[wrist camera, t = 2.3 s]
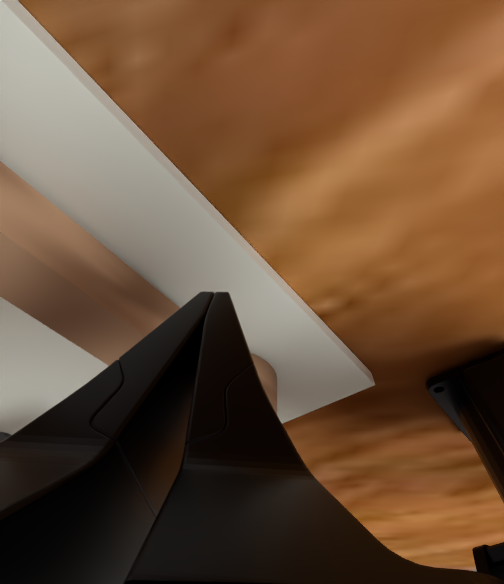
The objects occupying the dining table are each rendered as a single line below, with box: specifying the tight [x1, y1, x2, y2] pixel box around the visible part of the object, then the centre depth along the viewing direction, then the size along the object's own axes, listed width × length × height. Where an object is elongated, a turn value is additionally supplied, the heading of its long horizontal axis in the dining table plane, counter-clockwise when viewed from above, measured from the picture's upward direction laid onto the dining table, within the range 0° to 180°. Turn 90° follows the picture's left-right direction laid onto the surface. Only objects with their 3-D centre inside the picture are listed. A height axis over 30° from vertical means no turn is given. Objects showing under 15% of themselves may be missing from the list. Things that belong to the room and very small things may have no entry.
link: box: [0, 161, 277, 414], centre depth 12 cm, size 17×4×2 cm, turn 41°
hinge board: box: [0, 0, 375, 435], centre depth 17 cm, size 21×26×1 cm
